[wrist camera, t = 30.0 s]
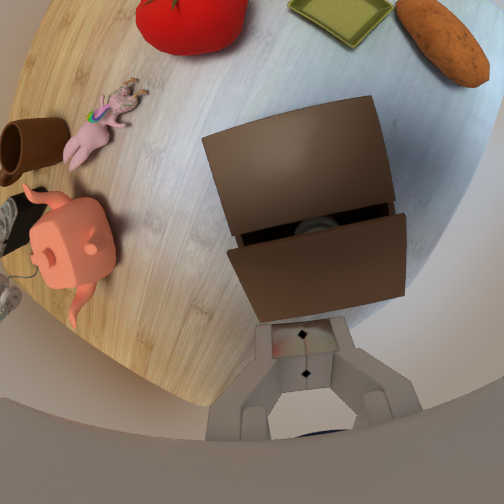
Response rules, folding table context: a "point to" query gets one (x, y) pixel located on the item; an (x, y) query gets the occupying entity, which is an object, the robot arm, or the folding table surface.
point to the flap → (324, 269)
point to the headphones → (9, 295)
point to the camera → (18, 221)
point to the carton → (302, 169)
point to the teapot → (72, 245)
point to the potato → (445, 41)
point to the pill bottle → (316, 224)
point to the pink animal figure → (99, 125)
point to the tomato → (190, 24)
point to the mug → (30, 146)
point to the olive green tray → (344, 16)
